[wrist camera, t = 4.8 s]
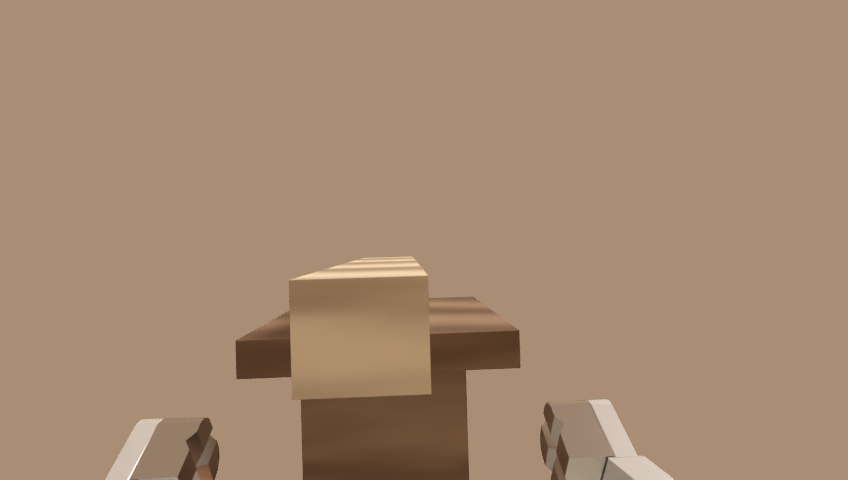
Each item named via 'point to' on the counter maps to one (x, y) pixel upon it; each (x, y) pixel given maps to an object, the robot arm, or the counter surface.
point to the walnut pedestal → (394, 400)
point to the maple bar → (360, 330)
